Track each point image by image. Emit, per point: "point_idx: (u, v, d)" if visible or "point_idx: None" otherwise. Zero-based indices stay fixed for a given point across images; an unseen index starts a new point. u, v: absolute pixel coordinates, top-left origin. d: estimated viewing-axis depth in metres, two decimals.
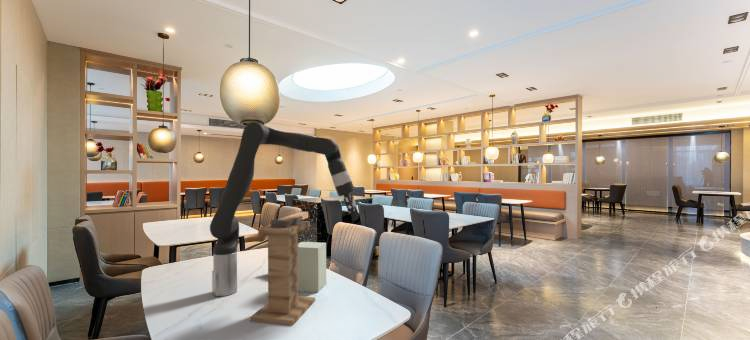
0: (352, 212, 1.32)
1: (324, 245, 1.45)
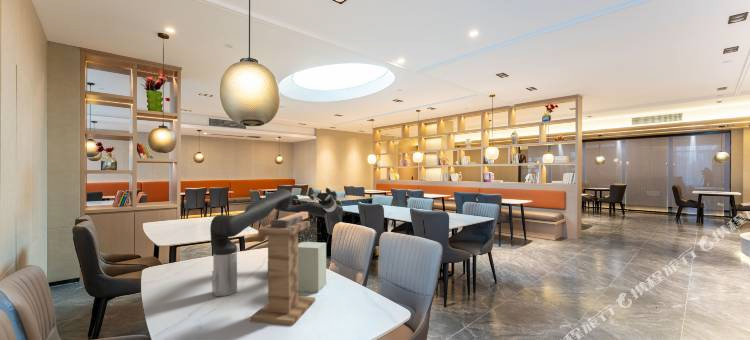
0: None
1: (324, 245, 1.45)
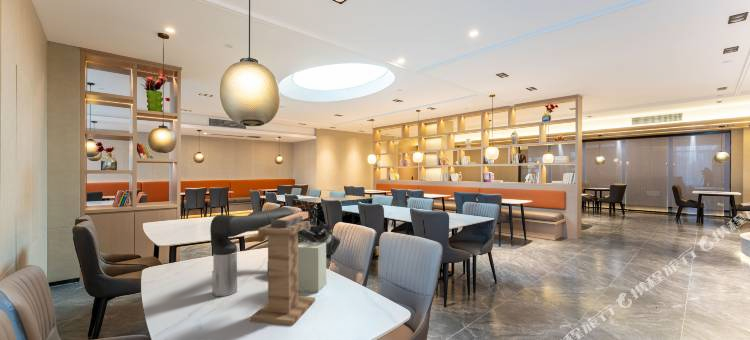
0: None
1: (324, 245, 1.45)
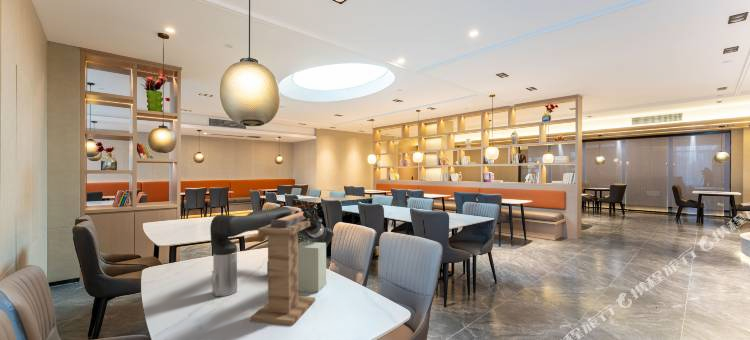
0: None
1: (324, 245, 1.45)
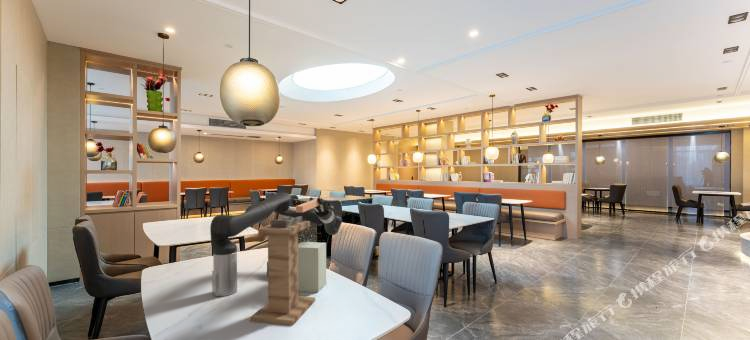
0: None
1: (324, 245, 1.45)
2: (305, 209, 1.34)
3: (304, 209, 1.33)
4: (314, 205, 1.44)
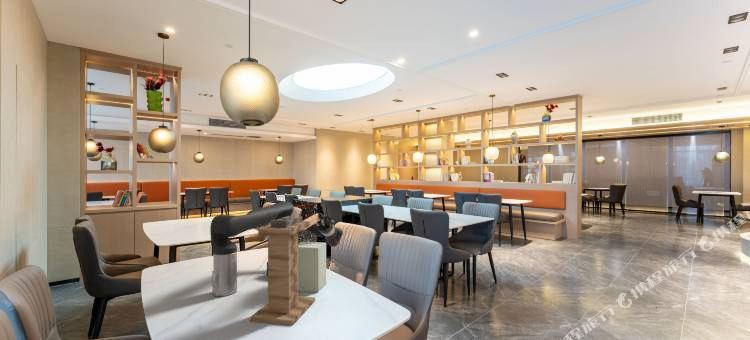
0: None
1: (324, 245, 1.45)
2: None
3: None
4: (315, 221, 1.46)
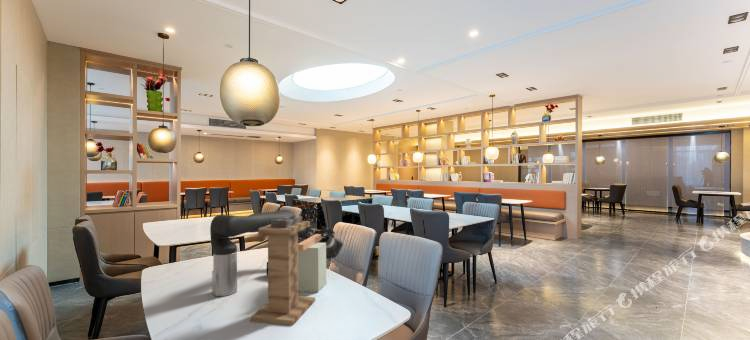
0: None
1: (324, 245, 1.45)
2: (306, 247, 1.35)
3: (305, 247, 1.34)
4: (314, 241, 1.45)
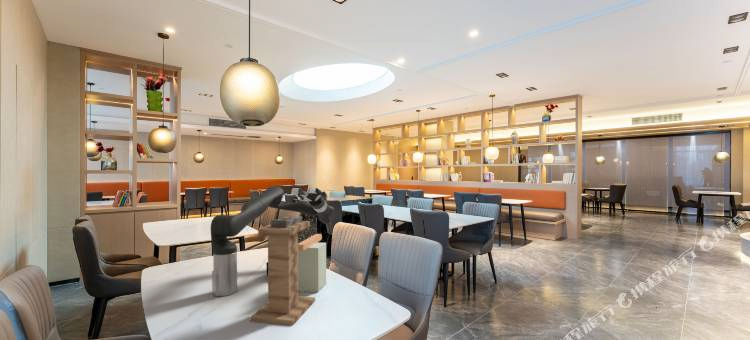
0: (300, 192, 1.61)
1: (324, 245, 1.45)
2: (306, 247, 1.35)
3: (305, 247, 1.34)
4: (314, 241, 1.45)
